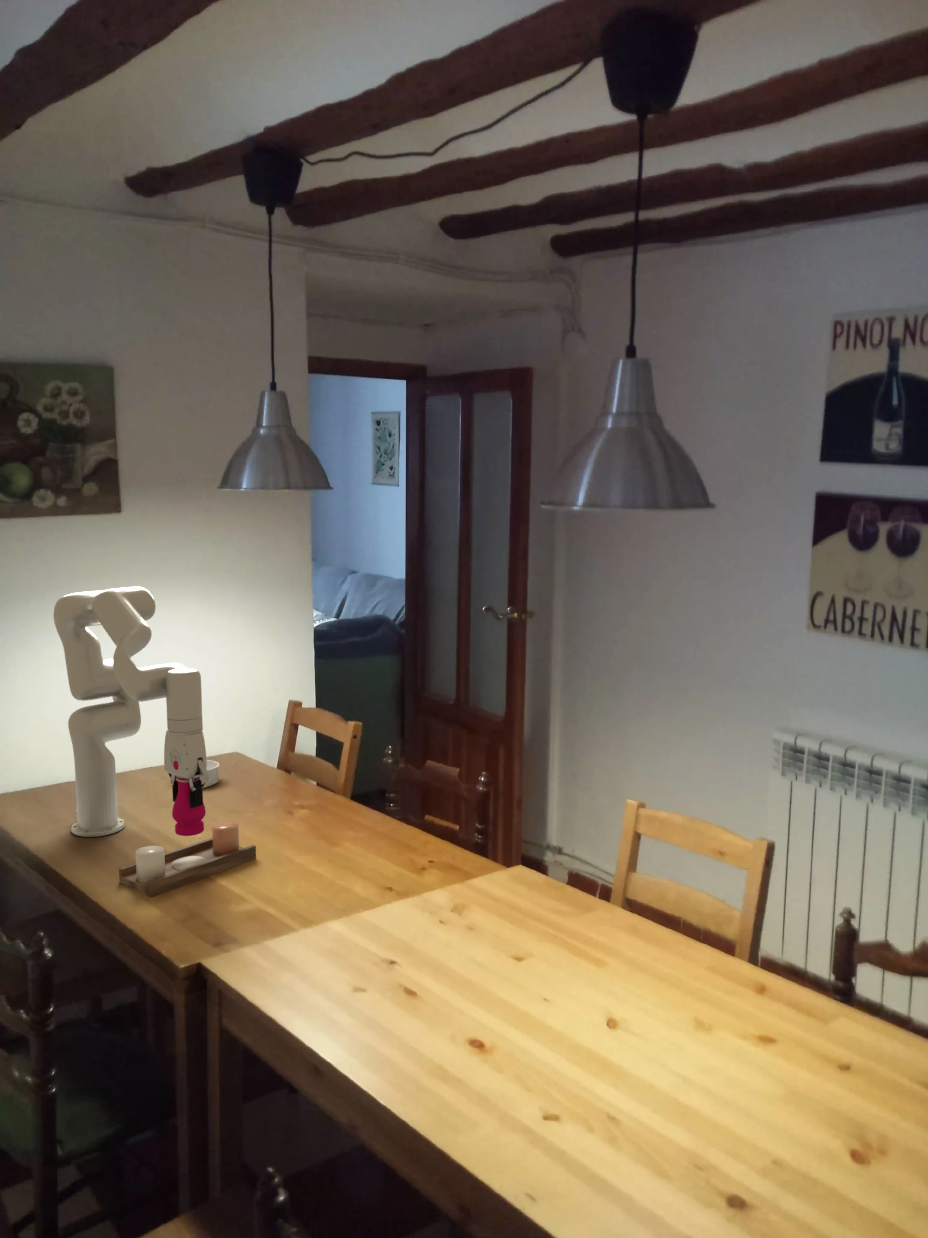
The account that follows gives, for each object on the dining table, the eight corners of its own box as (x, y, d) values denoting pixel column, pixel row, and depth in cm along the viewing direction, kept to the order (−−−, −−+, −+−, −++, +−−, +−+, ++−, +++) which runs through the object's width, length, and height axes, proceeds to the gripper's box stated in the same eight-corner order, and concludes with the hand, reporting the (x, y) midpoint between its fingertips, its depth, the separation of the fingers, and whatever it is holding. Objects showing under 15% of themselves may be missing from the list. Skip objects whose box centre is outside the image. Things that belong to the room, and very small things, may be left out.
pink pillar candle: (207, 851, 233) (206, 827, 232) (228, 844, 237) (227, 820, 236) (223, 858, 229) (222, 833, 228) (244, 850, 234) (243, 826, 233)
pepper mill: (186, 839, 219) (182, 751, 216) (166, 832, 224) (162, 745, 221) (212, 830, 225) (209, 744, 222) (192, 823, 229) (189, 739, 226)
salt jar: (131, 877, 217) (129, 851, 217) (155, 869, 222) (154, 843, 221) (146, 885, 214) (145, 858, 213) (170, 876, 218) (169, 850, 217)
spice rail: (119, 882, 219) (118, 868, 218) (224, 846, 240) (223, 834, 240) (151, 897, 211) (150, 883, 211) (256, 859, 233) (255, 846, 232)
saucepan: (202, 768, 304) (201, 751, 303) (226, 786, 287) (225, 767, 286) (164, 775, 297) (163, 756, 296) (187, 792, 281) (186, 773, 280)
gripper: (147, 721, 223) (151, 799, 226) (194, 734, 213) (196, 816, 215) (176, 715, 229) (179, 791, 232) (222, 727, 218) (225, 807, 221)
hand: (187, 802), depth 223 cm, fingers closed on pepper mill, 5 cm apart
